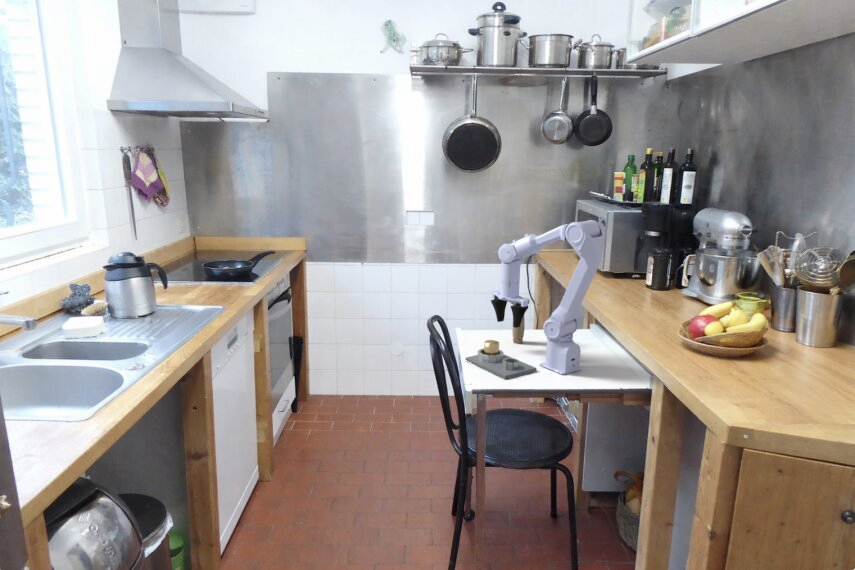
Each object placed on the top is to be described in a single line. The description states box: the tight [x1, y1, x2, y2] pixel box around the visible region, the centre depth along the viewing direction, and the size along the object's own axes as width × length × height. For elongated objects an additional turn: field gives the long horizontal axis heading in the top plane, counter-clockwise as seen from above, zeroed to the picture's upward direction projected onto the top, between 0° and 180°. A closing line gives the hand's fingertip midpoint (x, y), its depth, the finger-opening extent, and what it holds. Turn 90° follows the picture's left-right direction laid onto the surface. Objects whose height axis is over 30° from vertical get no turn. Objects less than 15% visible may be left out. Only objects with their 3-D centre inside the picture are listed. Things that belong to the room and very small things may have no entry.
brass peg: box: [483, 339, 500, 355], centre depth 171 cm, size 4×4×5 cm
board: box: [465, 354, 537, 380], centre depth 168 cm, size 18×12×1 cm, turn 34°
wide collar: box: [476, 347, 505, 363], centre depth 172 cm, size 8×8×2 cm
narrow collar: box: [502, 357, 520, 370], centre depth 164 cm, size 5×5×2 cm
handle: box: [509, 297, 531, 344], centre depth 189 cm, size 5×6×15 cm
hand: (508, 324), depth 178 cm, fingers open, 7 cm apart
